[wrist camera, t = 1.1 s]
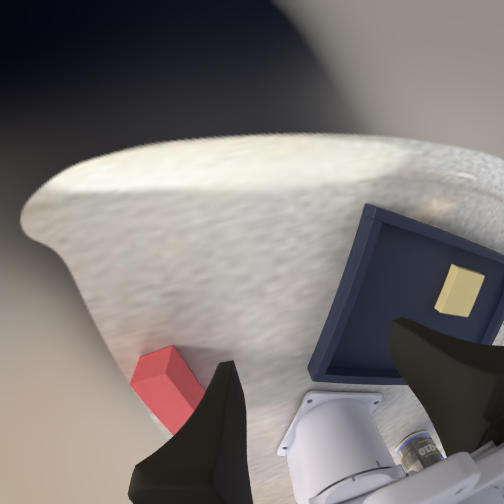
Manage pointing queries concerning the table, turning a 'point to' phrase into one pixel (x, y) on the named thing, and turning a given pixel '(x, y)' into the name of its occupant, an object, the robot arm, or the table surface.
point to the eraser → (167, 387)
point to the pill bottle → (418, 452)
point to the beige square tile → (459, 291)
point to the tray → (401, 296)
